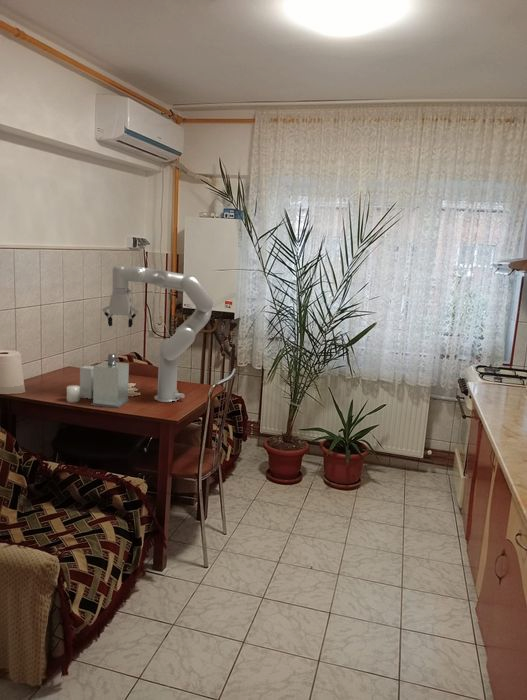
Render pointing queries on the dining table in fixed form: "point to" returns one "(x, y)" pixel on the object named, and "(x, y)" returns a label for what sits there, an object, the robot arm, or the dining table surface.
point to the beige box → (110, 382)
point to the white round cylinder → (73, 393)
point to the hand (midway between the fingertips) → (120, 326)
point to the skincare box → (86, 381)
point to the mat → (110, 405)
